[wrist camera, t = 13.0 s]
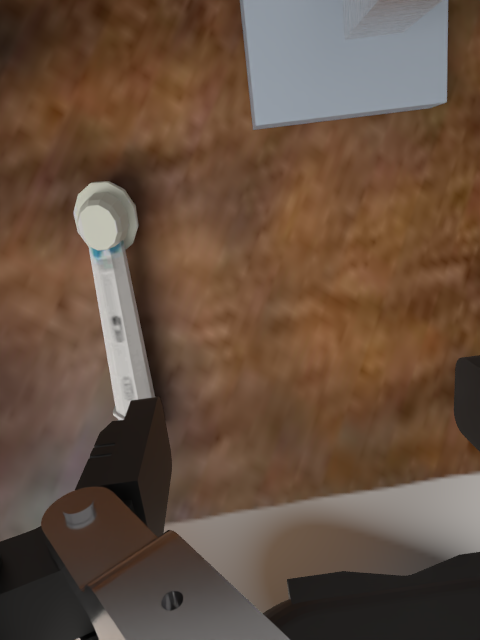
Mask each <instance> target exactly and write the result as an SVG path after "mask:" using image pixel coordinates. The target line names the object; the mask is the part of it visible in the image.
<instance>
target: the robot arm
mask: <svg viewBox="0 0 480 640" xmlns="http://www.w3.org/2000/svg"><path fill="white" fill-rule="evenodd" d="M454 416H455V420H456V423H457V426H458V428H459V430H460V431H461V433H462V434H463V435H464V436H465V437H466V438H467V439H468V440H469V441H470V442H471V443H472V444H473V445H474V446H475V447H476V448H477V449H478V450H479V451H480V355H479V356H471V357H463V358H460V359H458V361H457V363H456V368H455V396H454ZM171 472H172V459H171V449H170V444H169V438H168V433H167V427H166V422H165V417H164V411H163V406H162V402H161V399H160V397H153V398H145V399H137V400H131V402H130V404H129V407H128V410H127V413H126V415H125V418H124V420H118V421H112V422H111V423H110V424H109V425H108V426H107V427H106V428H105V429H104V430H103V431H101V432H100V434H99V436H98V438H97V441H96V443H95V445H94V448H93V450H92V452H91V454H90V459H88V461H87V464H86V466H85V468H84V470H83V473H82V475H81V477H80V480H79V482H78V484H77V486H76V489H75V491H72V492H70V493H68V494H66V495H64V496H63V497H61V498H60V499H58V500H57V501H55V502H54V503H53V504H52V505H51V506H50V507H49V508H48V509H47V511H46V512H45V514H44V515H43V518H42V521H41V526H40V527H38V528H36V529H34V530H31V531H29V532H26V533H24V534H21V535H18V536H15V537H12V538H10V539H7V540H4V541H1V542H0V640H75V639H76V640H480V552H476V553H470V554H462V555H458V556H456V557H453V558H451V559H448V560H446V561H444V562H441V563H439V564H436V565H434V566H432V567H429V568H427V569H424V570H422V571H420V572H417V573H415V574H412V575H408V576H396V575H384V574H371V573H358V572H346V571H342V572H335V573H328V574H322V575H314V576H307V577H300V578H293V579H287V584H288V594H289V600H287V601H284V602H282V603H280V604H278V605H276V606H274V607H272V608H271V609H269V610H267V611H266V612H265V613H263V614H262V613H261V612H260V611H259V610H258V609H257V608H256V607H255V606H254V605H253V604H252V603H251V602H250V601H249V600H248V599H246V598H245V597H244V596H243V595H242V594H241V593H240V592H239V591H238V590H237V589H236V588H235V587H234V586H233V585H231V584H230V583H229V582H228V581H227V580H226V579H225V578H224V577H223V576H222V575H221V574H220V573H219V572H218V571H216V570H215V569H214V568H213V567H212V566H211V565H210V564H209V563H208V562H207V561H206V560H205V559H204V558H203V557H202V556H201V555H200V554H198V553H197V552H196V551H195V550H194V549H193V548H192V547H191V546H190V545H189V544H188V543H187V542H186V541H185V540H184V539H182V537H180V536H179V535H178V534H177V533H176V532H174V531H172V530H168V531H166V532H165V533H163V532H164V524H165V517H166V509H167V502H168V495H169V487H170V480H171Z"/></svg>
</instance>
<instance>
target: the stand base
mask: <svg viewBox="0 0 480 640" xmlns="http://www.w3.org/2000/svg"><path fill="white" fill-rule="evenodd" d="M240 6H241V16H242V26H243V36H244V45H245V55H246V65H247V75H248V85H249V94H250V104H251V114H252V124H253V130H257V129H265V128H273V127H281V126H289V125H297V124H305V123H313V122H321V121H330V120H338V119H346V118H354V117H362V116H370V115H378V114H386V113H394V112H402V111H411V110H419V109H427V108H432V107H435V106H438V105H440V104H443V103H446V102H447V48H448V0H442V1H441V2H440V3H438V4H437V5H436V6H435V7H434V8H432V9H431V10H430V11H429V12H428V13H426V14H425V15H424V16H423V17H422V18H420V19H419V20H418V21H417V22H415V23H414V24H413V25H412V26H411V27H409V28H408V29H407V30H406V31H405V32H403V33H397V34H389V35H381V36H373V37H365V38H356V39H348V40H344V20H343V0H240Z"/></svg>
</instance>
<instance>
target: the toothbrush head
mask: <svg viewBox="0 0 480 640" xmlns="http://www.w3.org/2000/svg"><path fill="white" fill-rule="evenodd" d="M74 217H75V222H76V226H77V231H78V233H79V234H80V236H81V237H82V238H83V240H84V241H85V243H86V244H87V245H88V247H89V252H90V258H91V264H92V270H93V276H94V282H95V287H96V293H97V299H98V305H99V311H100V317H101V323H102V329H103V335H104V341H105V347H106V353H107V359H108V365H109V371H110V377H111V382H112V388H113V394H114V400H115V407H114V410H113V415H114V416H115V417H117V418H118V420H124V418H125V415H126V413H127V410H128V407H129V404H130V402H131V400H137V399H145V398H153V397H156V396H155V394H154V389H153V384H152V379H151V374H150V369H149V365H148V360H147V355H146V350H145V345H144V340H143V335H142V330H141V325H140V320H139V315H138V310H137V305H136V301H135V296H134V291H133V286H132V281H131V276H130V271H129V266H128V261H127V256H126V251H125V250H126V249H127V248H128V247H129V246H131V245H132V244H133V242H134V239H135V236H136V233H137V229H138V226H139V225H138V217H137V211H136V205H135V204H134V203H133V201H132V200H131V198H130V197H129V195H128V194H127V192H126V190H125V189H123V188H121V187H120V186H118V185H116V184H114V183H111V182H110V181H103V182H92V183H90V184H89V185H88V186H87V187H86V188H85V189H84V190H83V191H82V192H80V193H79V194H78V197H77V201H76V205H75V209H74Z"/></svg>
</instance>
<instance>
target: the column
mask: <svg viewBox="0 0 480 640" xmlns="http://www.w3.org/2000/svg"><path fill="white" fill-rule="evenodd" d="M441 1H442V0H343V20H344V40H348V39H356V38H365V37H373V36H381V35H389V34H397V33H403V32H405V31H406V30H407V29H408V28H409V27H411V26H412V25H413V24H414V23H415V22H417V21H418V20H419V19H420V18H422V17H423V16H424V15H425V14H426V13H428V12H429V11H430V10H431V9H432V8H434V7H435V6H436V5H437V4H438V3H440V2H441Z"/></svg>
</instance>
